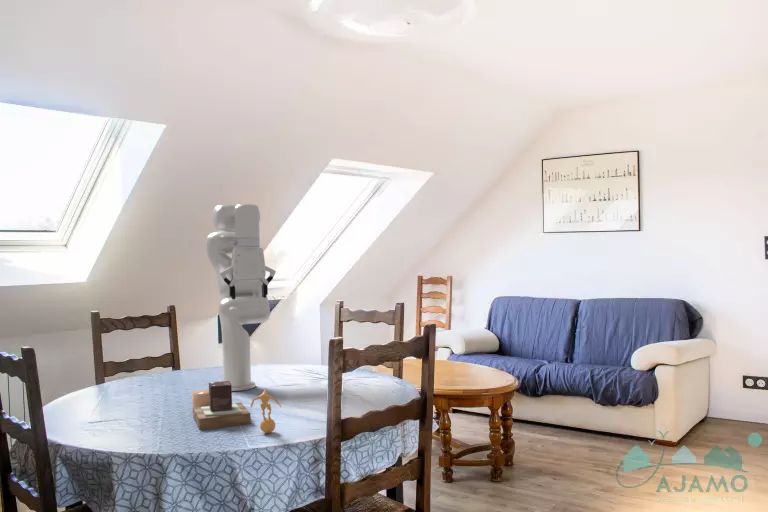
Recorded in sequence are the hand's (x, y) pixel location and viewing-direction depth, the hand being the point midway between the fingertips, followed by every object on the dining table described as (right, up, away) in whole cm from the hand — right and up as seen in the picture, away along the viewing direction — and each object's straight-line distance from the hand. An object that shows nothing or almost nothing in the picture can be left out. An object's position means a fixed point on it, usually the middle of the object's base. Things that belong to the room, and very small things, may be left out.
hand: (248, 298), depth 218 cm
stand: (-4, -34, -19) cm, 39 cm away
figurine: (+11, -34, -33) cm, 49 cm away
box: (-4, -31, -19) cm, 37 cm away
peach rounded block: (-12, -34, -8) cm, 37 cm away
